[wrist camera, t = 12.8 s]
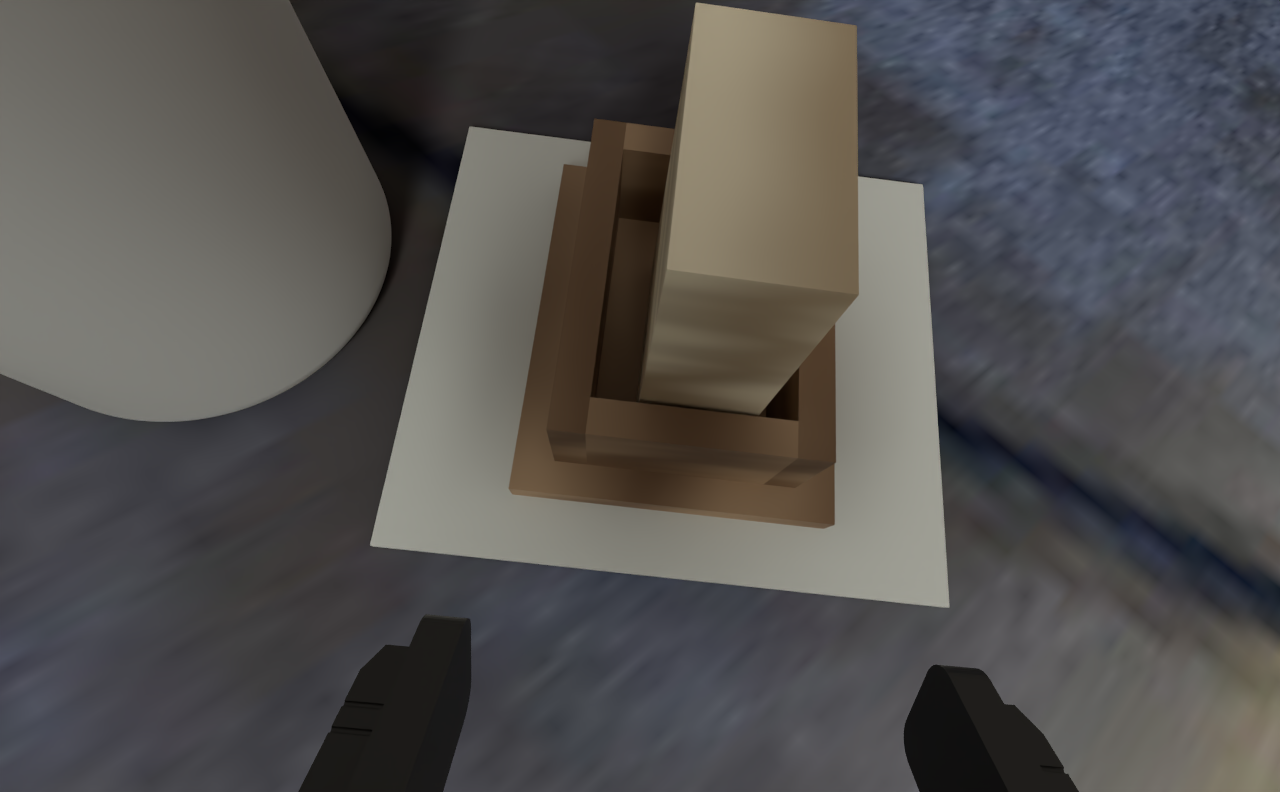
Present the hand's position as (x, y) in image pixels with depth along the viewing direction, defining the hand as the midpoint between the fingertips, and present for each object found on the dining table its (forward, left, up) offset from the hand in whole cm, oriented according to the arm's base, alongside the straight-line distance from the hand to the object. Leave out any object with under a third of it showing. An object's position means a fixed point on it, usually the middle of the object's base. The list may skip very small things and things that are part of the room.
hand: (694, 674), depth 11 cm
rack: (0, +10, -8) cm, 13 cm away
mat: (0, +10, -9) cm, 13 cm away
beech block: (0, +9, -7) cm, 12 cm away
